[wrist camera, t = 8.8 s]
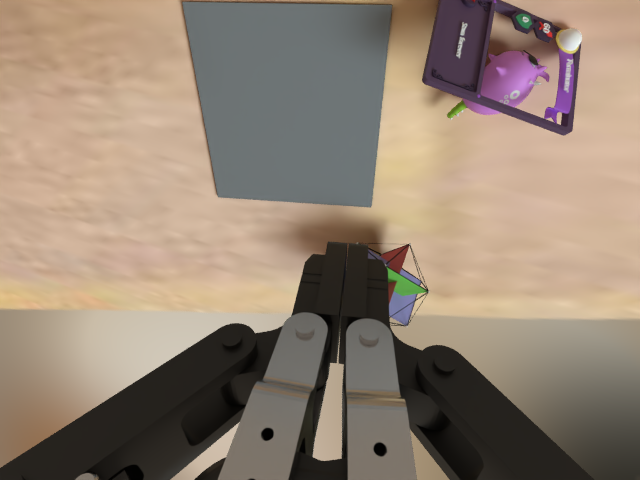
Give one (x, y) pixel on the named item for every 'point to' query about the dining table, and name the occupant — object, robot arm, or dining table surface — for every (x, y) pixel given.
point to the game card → (498, 62)
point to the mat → (291, 97)
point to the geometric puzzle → (400, 283)
